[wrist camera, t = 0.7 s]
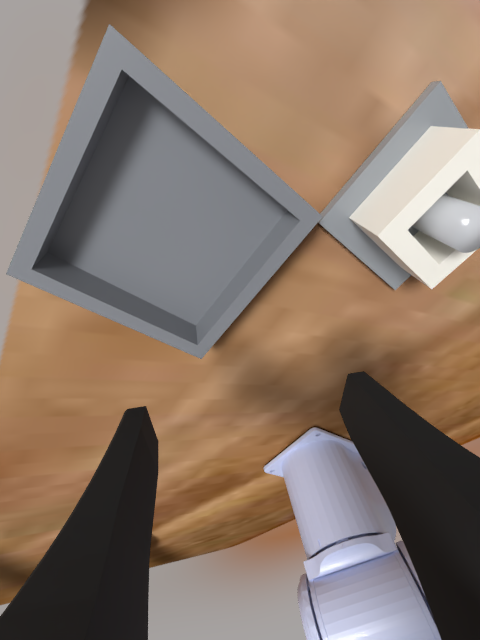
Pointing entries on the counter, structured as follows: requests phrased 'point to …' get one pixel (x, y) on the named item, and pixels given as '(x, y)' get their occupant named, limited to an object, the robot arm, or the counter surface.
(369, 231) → the ring
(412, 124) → the grey plate with post
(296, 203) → the tray
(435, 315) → the counter surface
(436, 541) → the robot arm
